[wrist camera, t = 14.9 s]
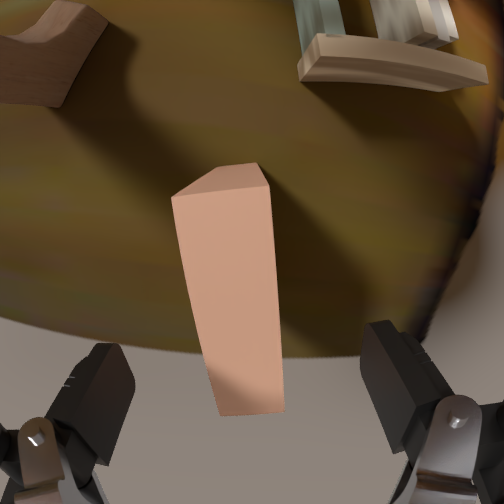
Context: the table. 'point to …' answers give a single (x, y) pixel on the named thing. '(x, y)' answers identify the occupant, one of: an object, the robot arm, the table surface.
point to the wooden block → (48, 55)
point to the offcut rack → (385, 46)
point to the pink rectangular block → (233, 286)
